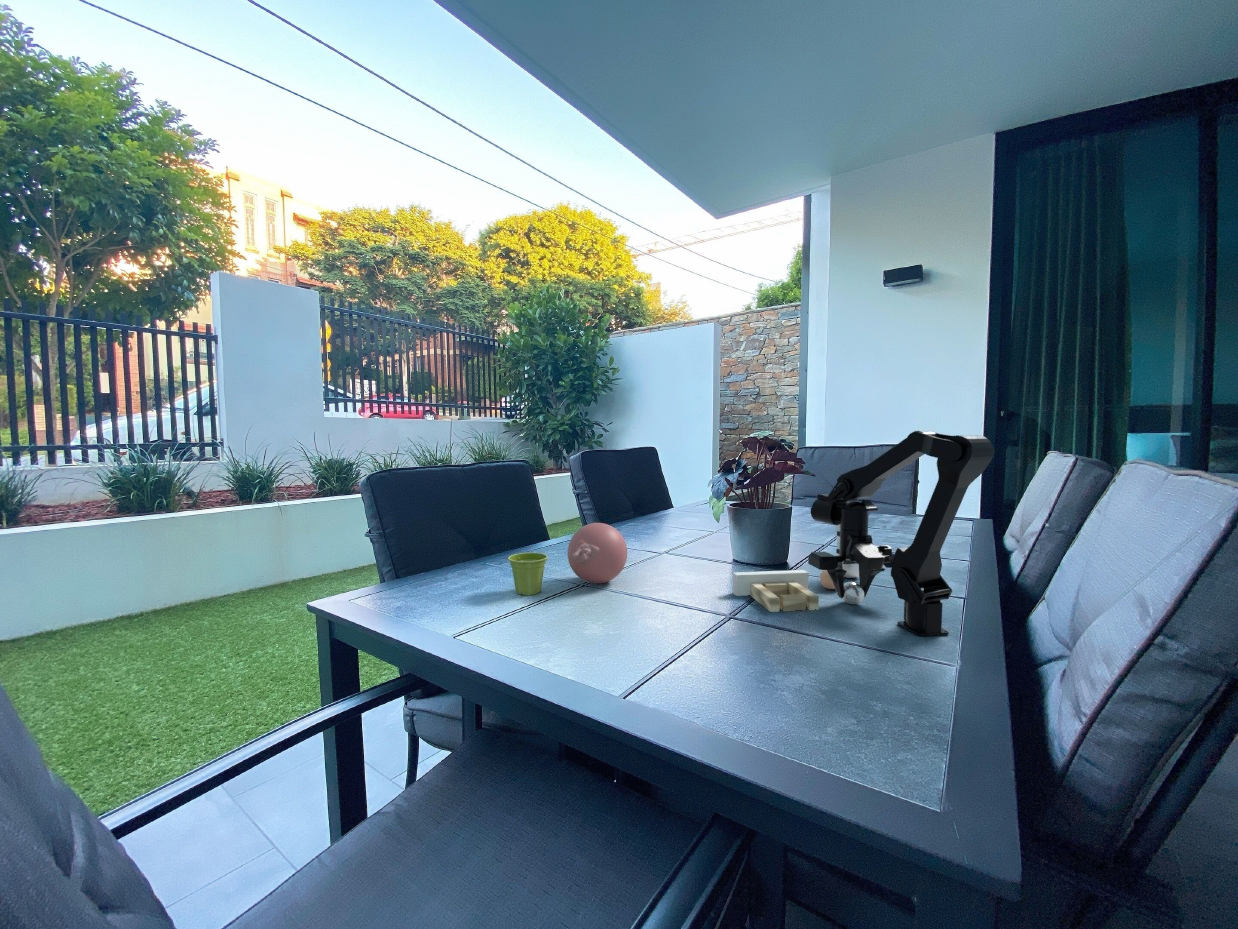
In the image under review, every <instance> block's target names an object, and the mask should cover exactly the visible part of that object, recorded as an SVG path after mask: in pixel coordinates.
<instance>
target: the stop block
mask: <svg viewBox="0 0 1238 929" xmlns="http://www.w3.org/2000/svg"><path fill="white" fill-rule="evenodd" d="M809 574H810V572H809V571H807V570H805V569H795V570H771V571H770V570H768V571H763V570H762V571H742V572H741V571H739V572H737V571H736V572H732V594H733V595H734V596H736V597H744V596H745V597H748V595H750V596H751V583H760V584H761V585H762V586H763V583H775V582H784V583H785V584H787V582H796V583H798V584H800V585H801V586H803V587H804V588H806V589H808V590H809V577H810V575H809Z"/></svg>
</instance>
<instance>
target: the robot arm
mask: <svg viewBox="0 0 1238 929" xmlns="http://www.w3.org/2000/svg"><path fill="white" fill-rule="evenodd" d="M924 455H926V456H929V457H932V458H935V459H936V468H937V475H938V479H937V482H936V484H935V487H934V489H933V492H932V495H931V496H930V499H929V502H928V504H927V506H926V508H925V511H924V514H923V517H922V519H921V521H920V524H919V526H918V529H917V531H916V533H915V536H914V538H913V541H912V543H911V544H910V545H908V546H903V547H897V548H896V550H895V553H893V548H892V547H891V546H890V545H888V544H881V545H874V544H873V536H872V534H869V518H870V517H869V514H870V513H869V512H877V511H878V509H879V508H878V507H877V505H875V504H874V503H873V502H872V500H871V499H868V498H870V497H871V496H873V495H874V494H875V493H877V491H878V490H879V489H881V486H882V484H883V482H884V481H886V480H887V479H888V478H889V477H891V476H893V475H895V474H896V473H898V472H899V471H901V470H902V469H904V468H905V467H907V466H909V465H910V464H911V463H914V461H916V460H918V459H920V458H921V457H922V456H924ZM994 456H995V447H994V446H993V444H992V442H991V441H990V440H989V439H988V438H987V437H986V436H983V435H978V434H973V435H972V434H963V435H962V434H960V435H959V434H958V435H950V434H943V433H938V432H935V431H932V430H914V431H912V432H911V433H909V434H908V435H907V437H905V438H904V439H903V440H901V441H899V442H898V443H897V444H896V445H895V444H894V446H892V447H891V448H889V449H888V450H887V451H885V452H884V453H882V454H881V455H879V456H878V457H877V458H875V459H874V460H872V461H871V462H869V463H868V464H866V465H864V466H861V467H858V468H855V469H851V470H849V471H846V472H844V473H842V474H840V475H839V476H838V477H837V479H836V484H835V485H834V486H833V488H832V489H831V491H830V492H829V493H828V494H827V493H819V494H817V499H816V500H814V502H813V503H812V504H811V507H810V515H811V518H812V520H814V521H815V522H819V523H824V524H828V525H833V526H836V525H840V531H837V534H836V537H837V536H840V549H837V548H836V549H835V550H836V551H835V552H836V553H837V554H839V556H836V555H834V554H832V553H829V552H827V551H811V552H810V554H808V557H807V559H808V560H807V564H808V565H810V566H812V567H813V568H815V569H818V570H820V571H823V570H827V572H828V573H829V575H830V577H831V579H832V581H833V584H834V586H835V589H834V590H835V591H836V593H837V595H838V597H839V598H840V599H842V598H843V594H844V584H845V583H844V582H845V577H844V575H845V574H846V572H847V571H846V570H844V569H843V564H859V576H858V580H859V583H858V584H859V585H860V586H861V587H862V588H863V590H864V598H865V597H867V593H868V592H869V590H870V587H871V585H872V583H873V582H874V579H875V578H876V576H877V575H878V574H880V573H882V572H885V570H886V568H887V569H890V577H892V580H893V583H894V587H895V590H896V594H897V597H898V599H900V600H903V601H904V604H903V620H901V621H900V620H899V621H897V622H896V624H897V625H898V626H900V627H902V628H903V629H905V630H907V631H909V632H911V633H912V634H914V635H916V636H918V637H925V636H926V637H927V636H928V637H929V636H930V637H931V636H944V635H945V636H947V635H949V633H950V631H948V630H946V629H944V628H943V627H942V626H943V625H942V624H943V605H944V604H943V602H941V601H943V600H948V599H950V597H951V595H952V592H953V589H952V588H951V586H949V584H948V583H947V581H946V580H945V579H944V577H942V575H941V571H942V568H943V564H942V563H943V562H942V557H941V550H942V548H943V546H944V543H945V540H946V538H947V536H948V533H949V532H950V530H951V527H952V524H953V522H954V521H955V517H956V516H957V513H958V512H959V509H960V507H961V505H962V501H963V499H964V497H965V495H966V492H967V490H968V489H969V486H971V484H972V483H973V482H974V481H975V480H977V479H978V478H979V477H980V475H982V474H983V473H984V472H985V470H986V469H987V467H988V466H989V464H990V463H991V462H992V460H993V458H994ZM861 499H862V500H861ZM859 500H861V501H859ZM847 502H849V503H848V504H847ZM846 559H849V560H846ZM884 567H885V568H884Z"/></svg>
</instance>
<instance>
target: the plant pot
mask: <svg viewBox="0 0 1238 929" xmlns="http://www.w3.org/2000/svg"><path fill="white" fill-rule="evenodd" d="M548 558H549V556H548V555H547V554H545V553H541V552H521V553H515V554H512V555H509V556H508V557H507V560H508V561H509V564H510V566H511V571H512V575H513V584H514V589H515V593H516V594H517V595H521V594H522V595H524V596H533V595H534V596H535V595H537V594H538V593H541V592H542V587H543V581H544V580H543V578H544V569H545V566H546V561H547V559H548Z"/></svg>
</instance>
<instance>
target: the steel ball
mask: <svg viewBox="0 0 1238 929" xmlns="http://www.w3.org/2000/svg"><path fill="white" fill-rule="evenodd" d="M841 599H842V600H843V601H844V602H845V603H846V604H850V605H858V604H860V603H861V602H862V601H863V600H864V599H865V597H864V590H863V588H862V587H861V586H860V583H858V582H856V581H847V582H845V583H844V594H843V598H841Z"/></svg>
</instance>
